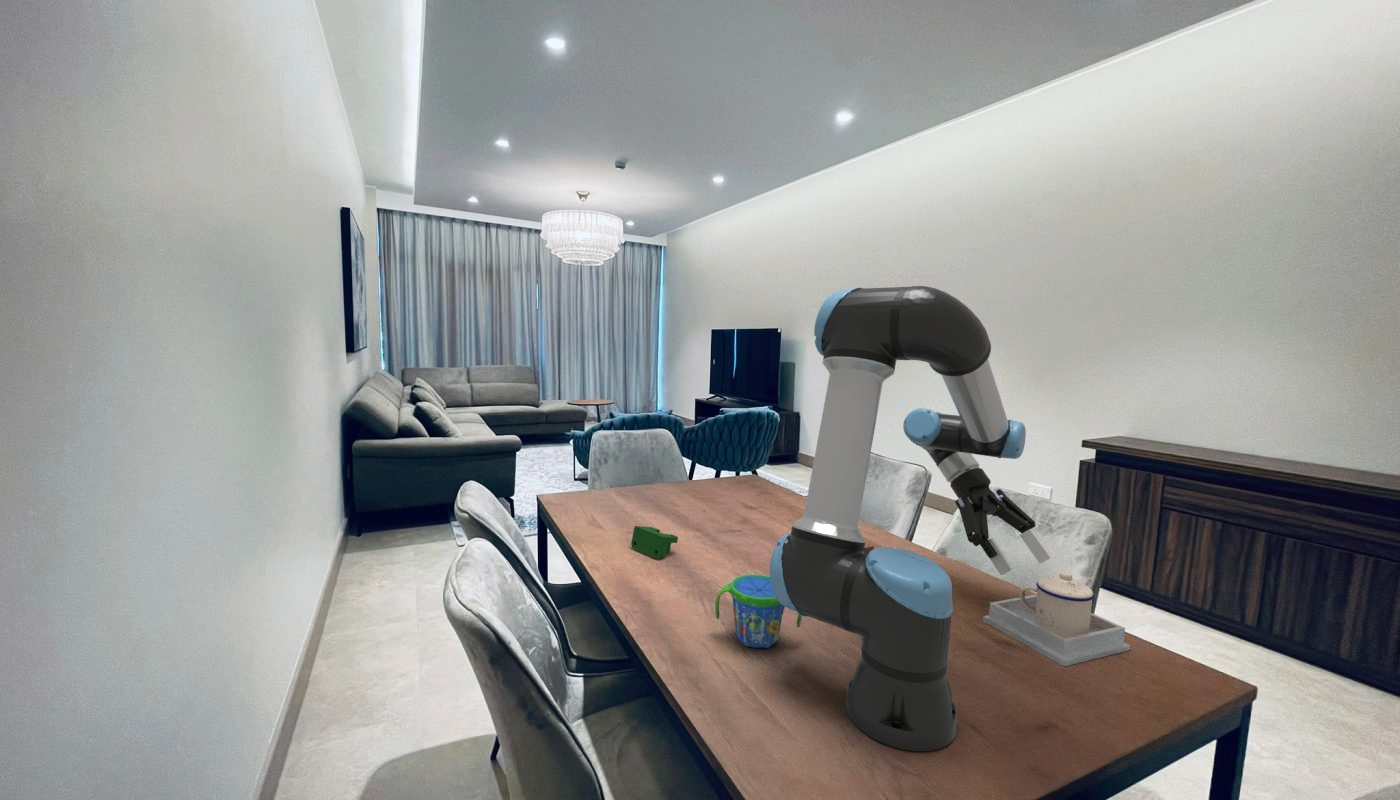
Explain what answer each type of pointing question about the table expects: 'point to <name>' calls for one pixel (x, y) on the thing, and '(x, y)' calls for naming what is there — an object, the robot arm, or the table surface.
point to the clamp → (652, 541)
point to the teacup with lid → (1061, 605)
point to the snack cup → (754, 610)
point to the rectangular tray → (1066, 651)
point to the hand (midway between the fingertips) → (1027, 566)
